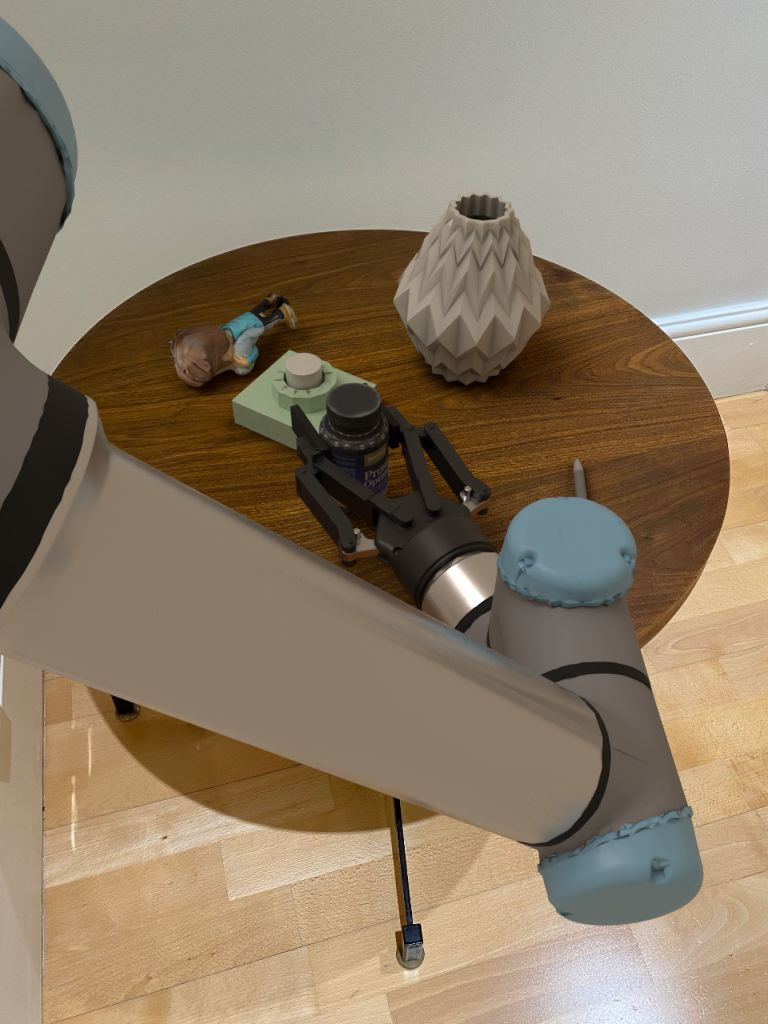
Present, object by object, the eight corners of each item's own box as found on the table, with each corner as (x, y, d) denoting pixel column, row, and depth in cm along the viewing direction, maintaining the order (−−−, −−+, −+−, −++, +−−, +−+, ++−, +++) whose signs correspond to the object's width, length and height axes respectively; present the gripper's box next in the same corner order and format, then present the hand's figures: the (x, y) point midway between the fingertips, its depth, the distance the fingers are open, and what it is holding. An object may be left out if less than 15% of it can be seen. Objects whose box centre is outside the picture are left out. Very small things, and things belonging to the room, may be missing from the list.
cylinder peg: (279, 383, 87) (277, 367, 86) (299, 364, 89) (298, 348, 88) (309, 396, 86) (308, 379, 84) (329, 376, 88) (328, 360, 87)
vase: (551, 338, 101) (581, 185, 87) (513, 425, 91) (541, 266, 77) (419, 306, 105) (428, 155, 91) (368, 386, 94) (370, 229, 81)
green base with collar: (234, 422, 90) (229, 384, 86) (290, 371, 96) (288, 334, 92) (323, 462, 86) (322, 424, 83) (376, 407, 92) (377, 369, 88)
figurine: (162, 372, 95) (152, 325, 91) (273, 316, 103) (269, 271, 98) (203, 405, 92) (195, 358, 87) (315, 345, 99) (313, 298, 95)
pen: (582, 574, 77) (585, 564, 76) (570, 465, 87) (572, 454, 86) (594, 575, 77) (597, 565, 76) (580, 465, 87) (583, 455, 86)
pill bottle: (374, 522, 79) (375, 430, 71) (311, 506, 80) (305, 414, 72) (396, 477, 83) (399, 385, 75) (336, 462, 84) (332, 370, 76)
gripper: (347, 660, 66) (235, 468, 79) (556, 570, 72) (418, 406, 86) (346, 599, 60) (225, 404, 74) (572, 507, 66) (422, 343, 80)
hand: (329, 406), depth 80 cm, fingers closed on pill bottle, 6 cm apart
